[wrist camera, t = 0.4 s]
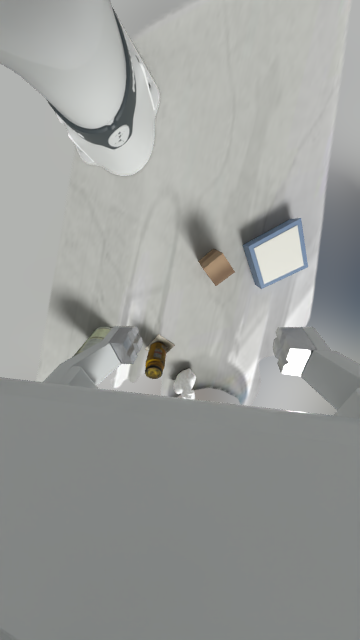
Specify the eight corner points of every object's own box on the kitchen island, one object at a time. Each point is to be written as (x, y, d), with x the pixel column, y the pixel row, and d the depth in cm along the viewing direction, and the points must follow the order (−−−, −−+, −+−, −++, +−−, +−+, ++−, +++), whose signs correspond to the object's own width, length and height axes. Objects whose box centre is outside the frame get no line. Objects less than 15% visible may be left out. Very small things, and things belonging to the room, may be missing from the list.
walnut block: (198, 261, 44) (203, 269, 35) (213, 248, 42) (222, 253, 33) (208, 275, 46) (215, 286, 37) (223, 263, 44) (234, 272, 35)
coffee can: (125, 349, 58) (111, 381, 46) (97, 350, 58) (75, 382, 46) (119, 325, 53) (101, 354, 41) (88, 326, 53) (61, 355, 41)
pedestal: (242, 245, 42) (248, 246, 38) (289, 219, 39) (301, 218, 35) (255, 284, 47) (261, 289, 43) (297, 264, 44) (308, 267, 41)
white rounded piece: (176, 379, 70) (190, 404, 64) (164, 383, 64) (178, 410, 58) (194, 363, 65) (210, 388, 60) (182, 365, 59) (199, 393, 54)
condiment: (144, 348, 58) (137, 374, 48) (158, 334, 55) (153, 358, 45) (161, 358, 61) (157, 384, 50) (174, 344, 58) (174, 369, 47)
